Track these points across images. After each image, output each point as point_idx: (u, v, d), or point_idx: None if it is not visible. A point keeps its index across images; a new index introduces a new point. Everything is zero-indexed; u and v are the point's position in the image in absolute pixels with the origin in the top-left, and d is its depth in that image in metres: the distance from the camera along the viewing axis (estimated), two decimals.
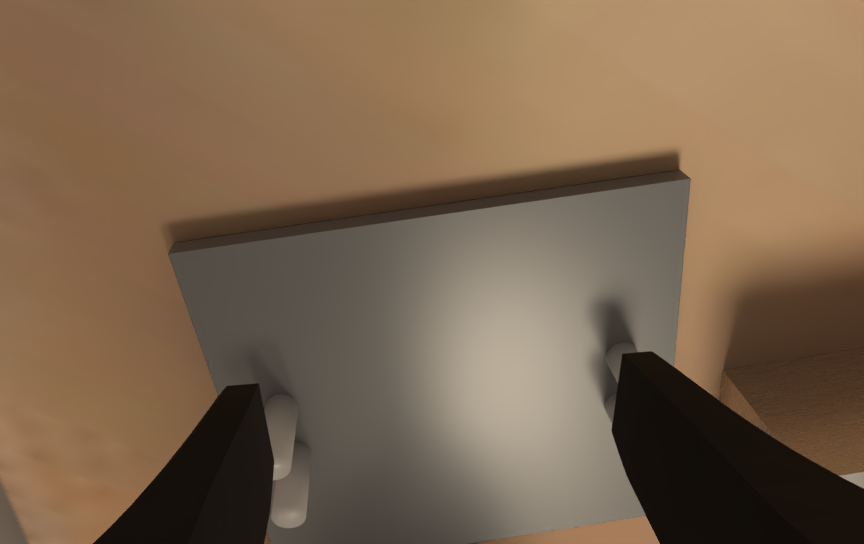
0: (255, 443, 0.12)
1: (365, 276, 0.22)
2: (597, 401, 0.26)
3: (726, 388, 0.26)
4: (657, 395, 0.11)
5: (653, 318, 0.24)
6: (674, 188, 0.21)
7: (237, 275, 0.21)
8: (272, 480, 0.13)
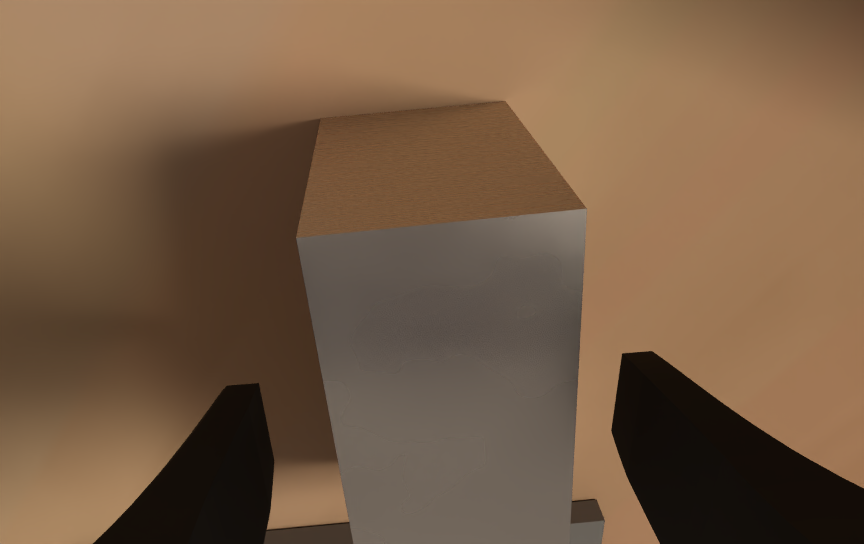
0: (255, 443, 0.12)
1: None
2: None
3: None
4: (656, 395, 0.11)
5: None
6: None
7: None
8: (272, 480, 0.13)
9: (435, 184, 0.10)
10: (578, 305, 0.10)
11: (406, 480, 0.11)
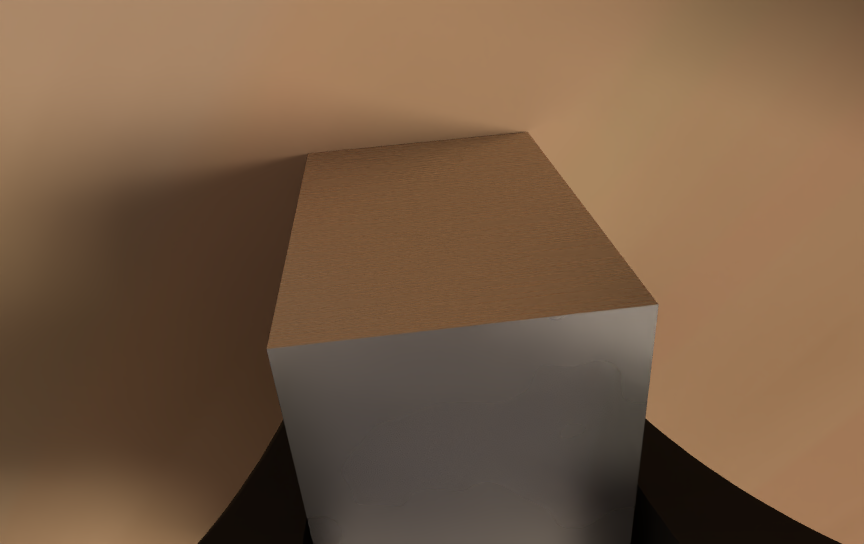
0: None
1: None
2: None
3: None
4: None
5: None
6: None
7: None
8: None
9: (451, 259, 0.08)
10: (640, 420, 0.07)
11: None
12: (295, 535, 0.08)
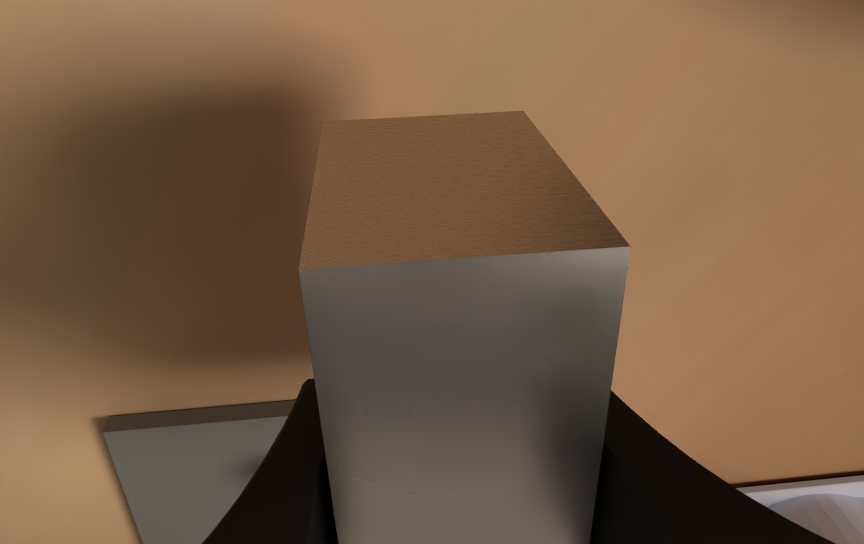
0: None
1: None
2: None
3: None
4: None
5: (267, 438, 0.23)
6: (114, 443, 0.22)
7: None
8: None
9: (455, 208, 0.09)
10: (612, 351, 0.09)
11: (409, 533, 0.10)
12: (299, 535, 0.08)
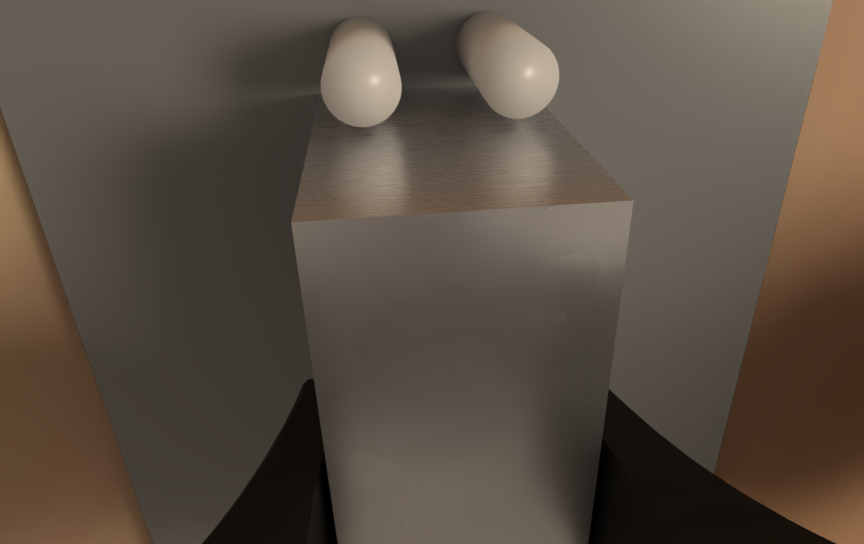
0: None
1: (191, 428, 0.16)
2: None
3: None
4: None
5: None
6: None
7: (194, 541, 0.18)
8: None
9: (453, 168, 0.09)
10: (615, 313, 0.08)
11: (407, 506, 0.10)
12: (299, 535, 0.08)
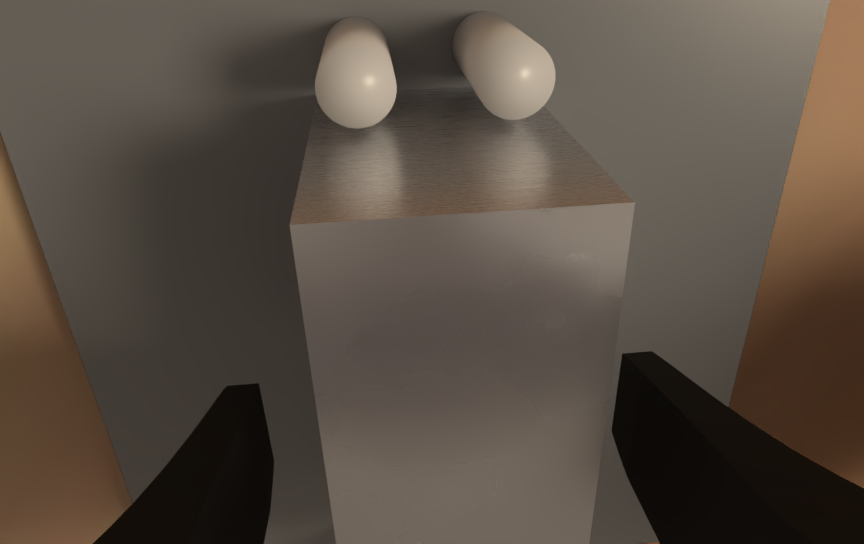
0: (255, 443, 0.12)
1: (186, 431, 0.16)
2: None
3: None
4: (656, 395, 0.11)
5: None
6: None
7: None
8: (272, 480, 0.13)
9: (452, 169, 0.09)
10: (615, 315, 0.08)
11: (406, 509, 0.10)
12: None
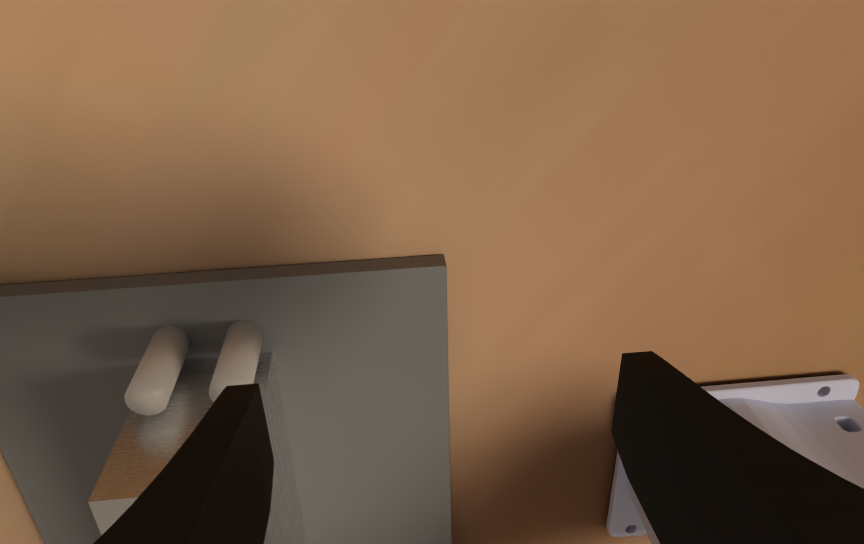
0: (255, 443, 0.12)
1: (92, 536, 0.26)
2: None
3: None
4: (656, 395, 0.11)
5: (117, 314, 0.21)
6: None
7: None
8: (272, 480, 0.13)
9: None
10: None
11: None
12: None
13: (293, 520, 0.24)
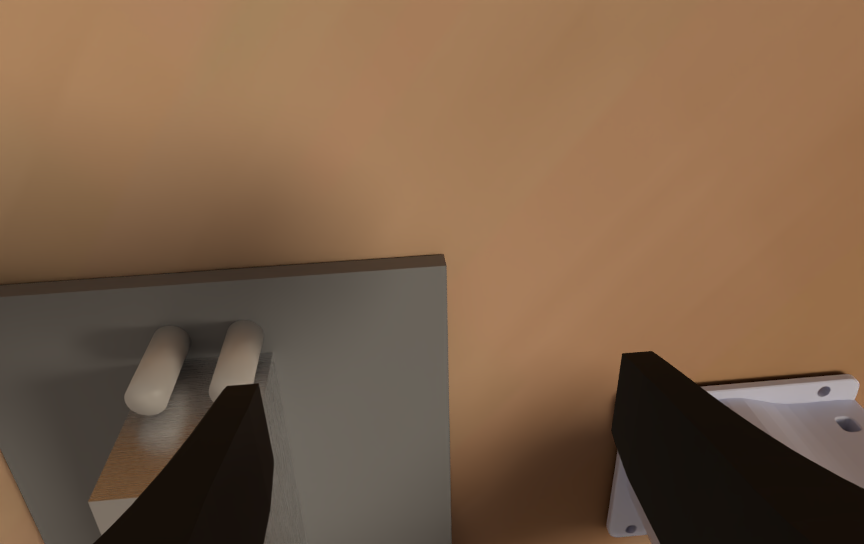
0: (255, 443, 0.12)
1: (92, 536, 0.26)
2: None
3: None
4: (656, 395, 0.11)
5: (117, 314, 0.21)
6: None
7: None
8: (272, 480, 0.13)
9: None
10: None
11: None
12: None
13: (293, 520, 0.24)
